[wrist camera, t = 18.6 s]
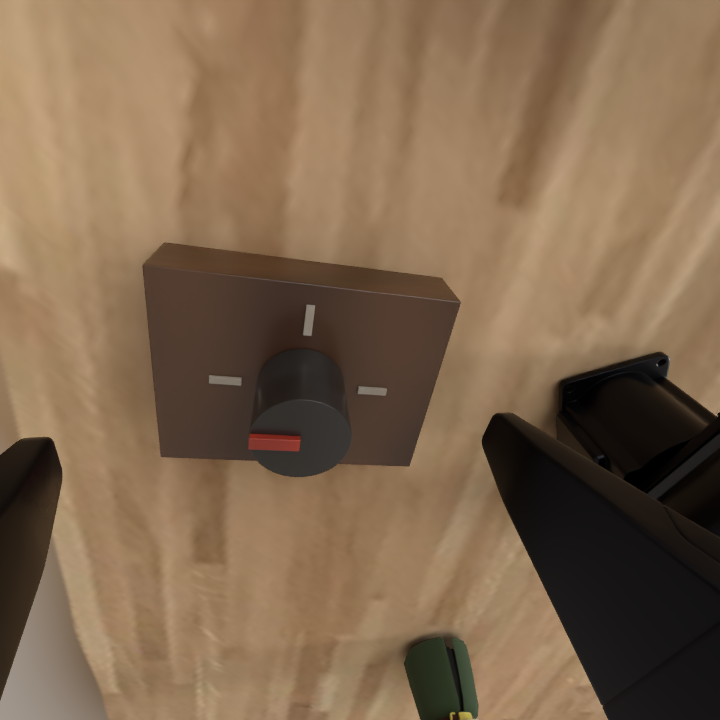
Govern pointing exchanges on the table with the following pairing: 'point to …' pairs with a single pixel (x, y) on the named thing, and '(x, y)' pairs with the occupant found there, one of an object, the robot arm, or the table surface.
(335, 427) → the dial
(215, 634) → the table surface
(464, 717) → the character mug
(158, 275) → the control box
